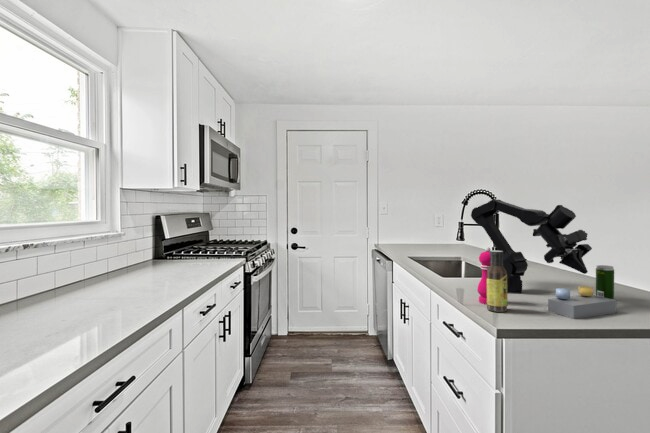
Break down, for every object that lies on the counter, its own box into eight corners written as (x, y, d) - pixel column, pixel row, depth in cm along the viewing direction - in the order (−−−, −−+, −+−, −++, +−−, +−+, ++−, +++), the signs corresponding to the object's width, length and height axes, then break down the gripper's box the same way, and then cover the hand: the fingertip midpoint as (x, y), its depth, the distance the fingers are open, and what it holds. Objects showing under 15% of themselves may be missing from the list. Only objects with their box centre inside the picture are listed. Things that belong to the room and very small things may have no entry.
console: (573, 318, 116) (573, 305, 115) (548, 311, 124) (548, 299, 124) (616, 312, 121) (616, 300, 121) (588, 305, 130) (588, 293, 129)
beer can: (610, 302, 134) (610, 268, 133) (593, 298, 138) (593, 266, 138) (616, 299, 137) (616, 266, 136) (599, 296, 141) (599, 264, 141)
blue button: (557, 308, 122) (557, 290, 122) (554, 305, 126) (554, 288, 126) (571, 309, 121) (571, 291, 121) (568, 306, 125) (568, 288, 124)
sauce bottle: (508, 313, 122) (507, 252, 122) (487, 312, 125) (486, 251, 124) (506, 308, 128) (506, 250, 128) (486, 307, 130) (486, 249, 130)
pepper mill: (498, 300, 139) (497, 246, 138) (500, 305, 132) (500, 248, 131) (476, 299, 141) (476, 245, 140) (478, 304, 134) (477, 248, 134)
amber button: (580, 305, 125) (580, 288, 125) (576, 302, 129) (577, 285, 129) (594, 306, 124) (594, 288, 124) (590, 303, 128) (590, 286, 127)
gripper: (552, 223, 126) (587, 260, 117) (586, 221, 134) (621, 255, 125) (530, 244, 134) (562, 281, 124) (563, 241, 142) (595, 275, 132)
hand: (586, 272), depth 126 cm, fingers closed
